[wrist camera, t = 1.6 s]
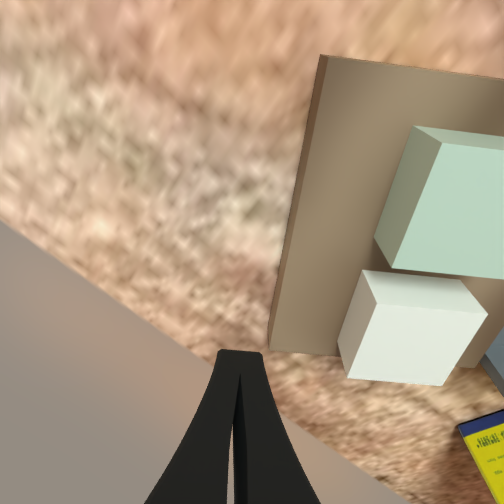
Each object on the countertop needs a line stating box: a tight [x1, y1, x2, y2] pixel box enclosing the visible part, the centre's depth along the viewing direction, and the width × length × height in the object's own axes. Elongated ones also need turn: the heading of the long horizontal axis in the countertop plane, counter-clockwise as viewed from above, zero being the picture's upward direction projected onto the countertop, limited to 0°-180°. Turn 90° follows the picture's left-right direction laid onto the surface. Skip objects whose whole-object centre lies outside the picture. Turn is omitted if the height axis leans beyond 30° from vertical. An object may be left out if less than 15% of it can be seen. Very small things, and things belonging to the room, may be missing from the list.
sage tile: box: [374, 125, 504, 280], centre depth 11 cm, size 4×4×2 cm
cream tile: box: [337, 270, 488, 386], centre depth 14 cm, size 4×4×2 cm
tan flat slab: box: [268, 54, 504, 368], centre depth 14 cm, size 10×12×2 cm
